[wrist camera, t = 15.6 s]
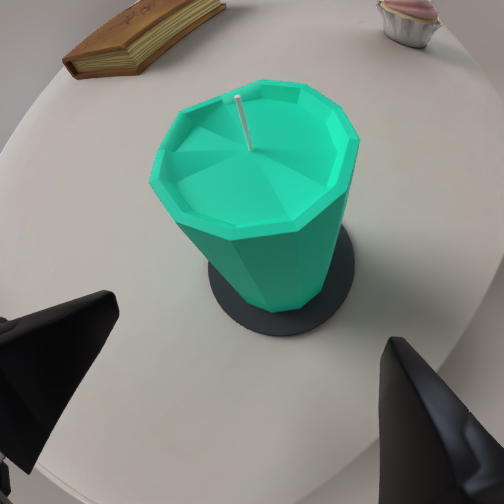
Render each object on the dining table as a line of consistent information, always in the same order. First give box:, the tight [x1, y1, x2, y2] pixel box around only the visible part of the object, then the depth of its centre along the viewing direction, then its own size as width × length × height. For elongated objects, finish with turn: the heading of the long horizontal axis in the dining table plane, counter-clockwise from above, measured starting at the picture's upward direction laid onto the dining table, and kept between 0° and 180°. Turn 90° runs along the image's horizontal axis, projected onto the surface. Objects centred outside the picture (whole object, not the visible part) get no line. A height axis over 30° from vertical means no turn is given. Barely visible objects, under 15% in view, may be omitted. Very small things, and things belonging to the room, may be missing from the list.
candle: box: [149, 80, 360, 313], centre depth 11 cm, size 6×6×12 cm
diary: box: [62, 0, 226, 80], centre depth 33 cm, size 23×19×6 cm
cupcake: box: [376, 0, 442, 48], centre depth 21 cm, size 9×9×10 cm
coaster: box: [208, 225, 355, 336], centre depth 17 cm, size 9×9×1 cm
